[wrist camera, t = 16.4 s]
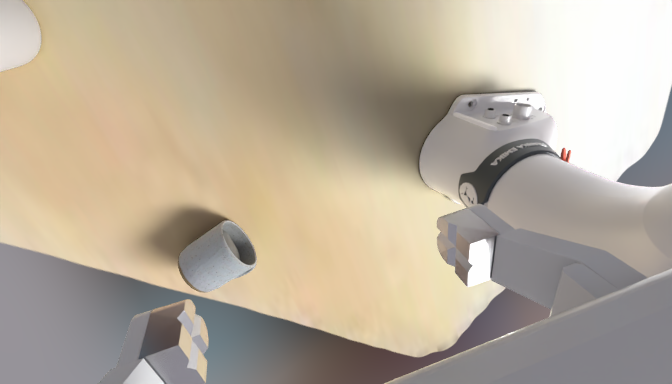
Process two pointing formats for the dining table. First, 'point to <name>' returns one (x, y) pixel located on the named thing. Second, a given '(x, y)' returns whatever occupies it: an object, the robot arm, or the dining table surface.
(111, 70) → the dining table surface
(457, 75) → the dining table surface
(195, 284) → the ceramic mug
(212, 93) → the dining table surface
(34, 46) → the milk bottle
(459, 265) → the robot arm
